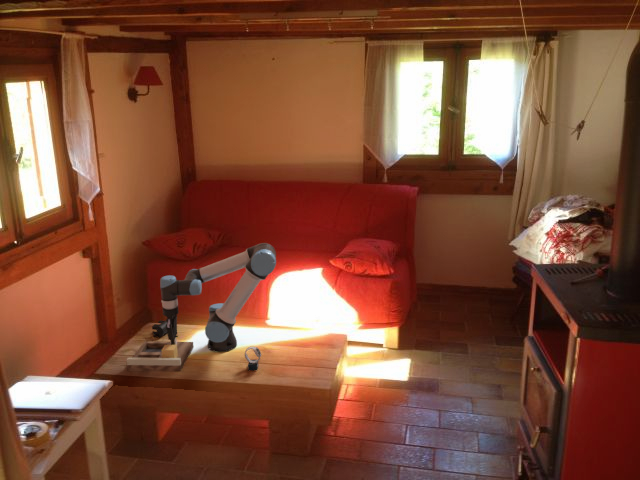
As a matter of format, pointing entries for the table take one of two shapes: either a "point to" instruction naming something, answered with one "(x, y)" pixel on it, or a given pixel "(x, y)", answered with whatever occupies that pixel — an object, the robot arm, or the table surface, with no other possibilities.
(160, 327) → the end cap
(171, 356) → the block
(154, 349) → the board
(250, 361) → the watch
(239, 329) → the table surface
